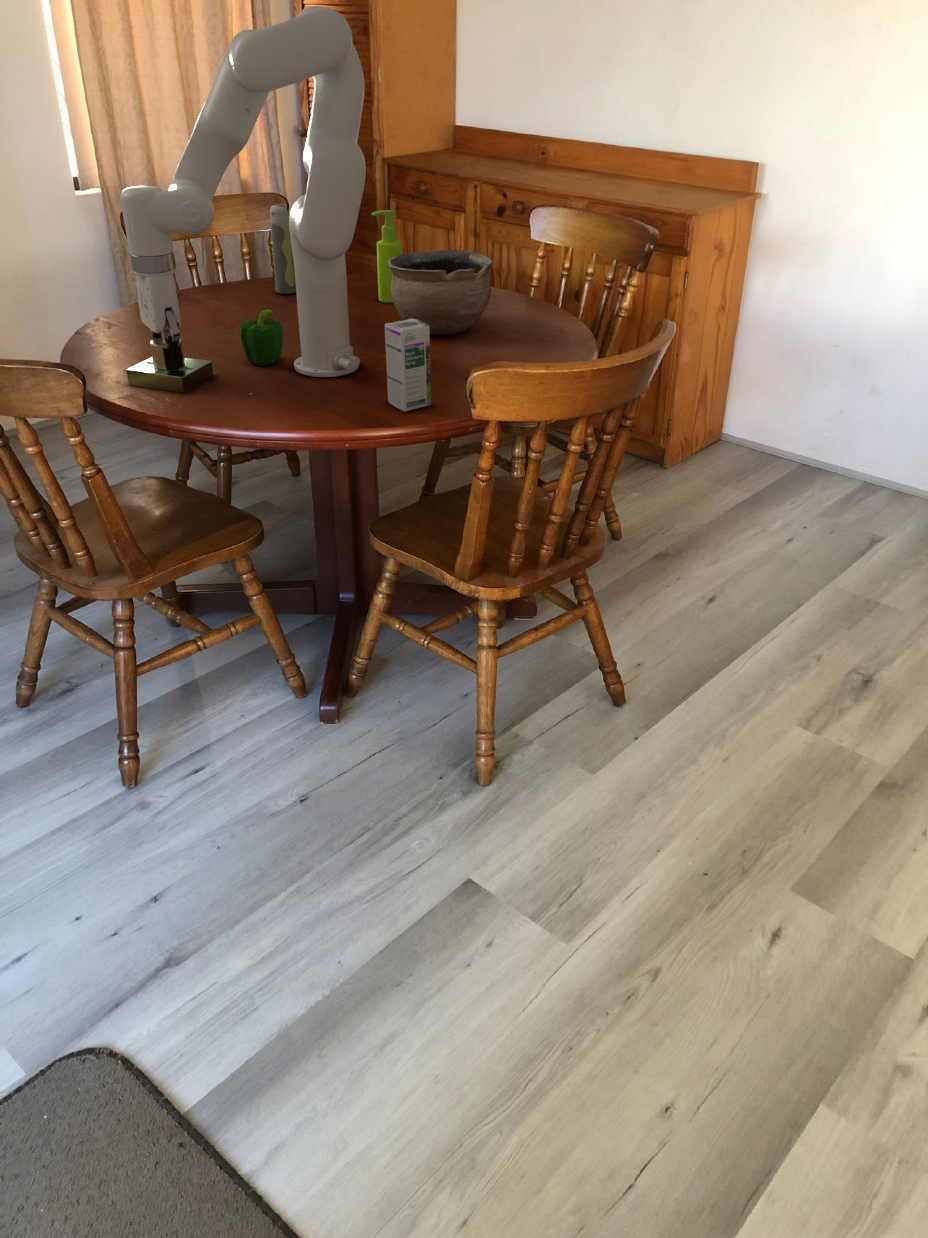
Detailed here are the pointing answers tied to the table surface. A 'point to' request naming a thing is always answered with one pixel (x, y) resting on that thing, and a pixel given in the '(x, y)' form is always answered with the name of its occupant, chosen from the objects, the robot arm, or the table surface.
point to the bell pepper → (262, 339)
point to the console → (170, 375)
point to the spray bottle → (282, 250)
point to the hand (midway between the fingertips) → (169, 362)
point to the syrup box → (408, 364)
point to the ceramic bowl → (441, 288)
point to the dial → (160, 353)
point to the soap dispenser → (386, 255)
